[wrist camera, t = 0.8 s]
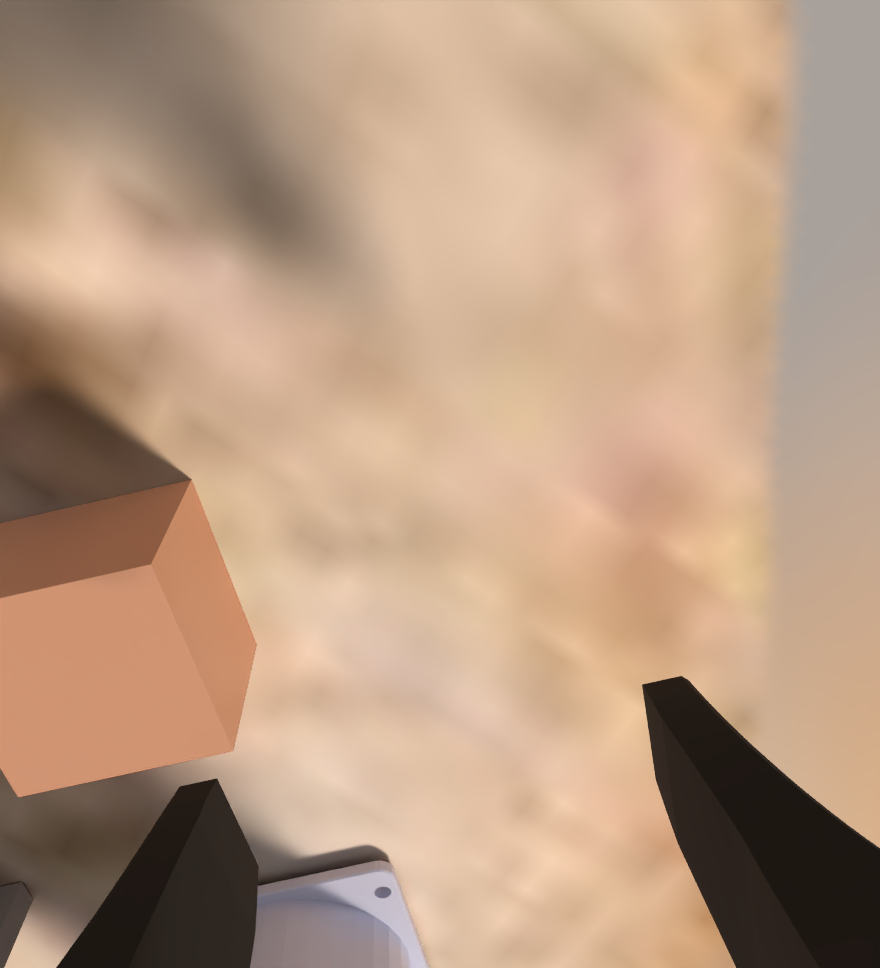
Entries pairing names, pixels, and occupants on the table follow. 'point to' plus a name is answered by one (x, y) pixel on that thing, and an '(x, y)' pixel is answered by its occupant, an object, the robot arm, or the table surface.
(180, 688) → the terracotta block
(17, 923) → the box
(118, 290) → the table surface
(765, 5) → the table surface
